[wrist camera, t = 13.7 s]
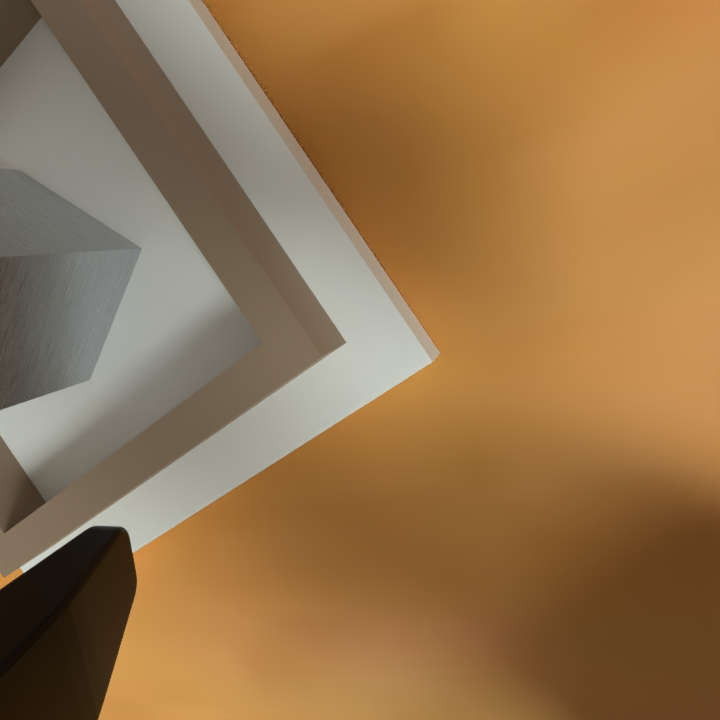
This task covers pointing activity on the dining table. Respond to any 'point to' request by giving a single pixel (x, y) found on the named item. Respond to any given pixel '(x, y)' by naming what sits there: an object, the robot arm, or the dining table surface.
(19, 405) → the stand
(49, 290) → the brushed metal pillar
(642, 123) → the dining table surface
